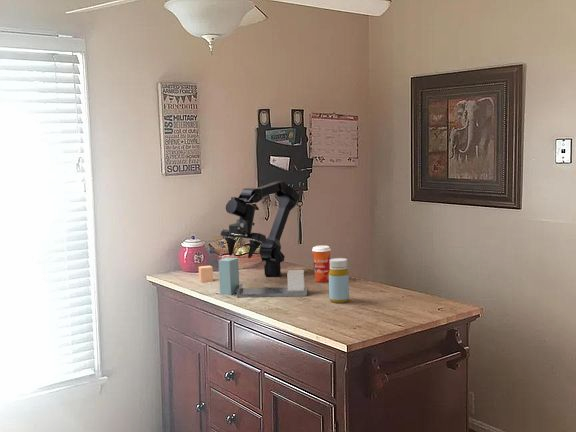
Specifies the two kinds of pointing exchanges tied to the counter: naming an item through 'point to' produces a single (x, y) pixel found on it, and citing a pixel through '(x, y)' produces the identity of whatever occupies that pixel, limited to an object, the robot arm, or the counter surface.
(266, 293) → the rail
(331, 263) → the bottle
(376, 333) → the counter surface
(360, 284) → the counter surface
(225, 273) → the block
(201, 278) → the block
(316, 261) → the paper cup
